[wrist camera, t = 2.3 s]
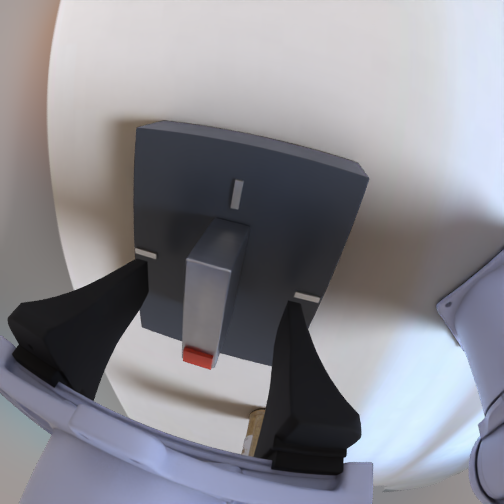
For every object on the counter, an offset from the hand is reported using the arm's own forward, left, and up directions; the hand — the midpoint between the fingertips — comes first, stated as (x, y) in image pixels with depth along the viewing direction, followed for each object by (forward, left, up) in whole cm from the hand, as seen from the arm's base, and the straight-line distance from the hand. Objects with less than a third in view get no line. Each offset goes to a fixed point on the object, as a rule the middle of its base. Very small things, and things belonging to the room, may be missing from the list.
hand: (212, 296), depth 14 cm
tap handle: (0, 0, -2) cm, 2 cm away
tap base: (0, 0, -5) cm, 5 cm away
